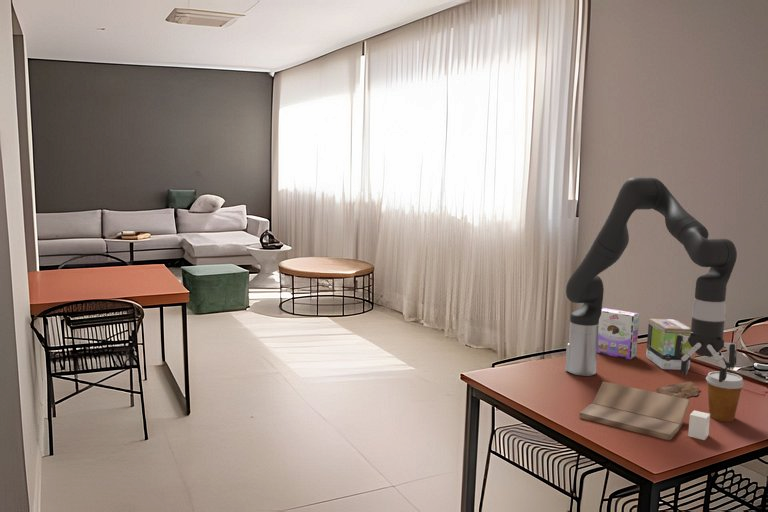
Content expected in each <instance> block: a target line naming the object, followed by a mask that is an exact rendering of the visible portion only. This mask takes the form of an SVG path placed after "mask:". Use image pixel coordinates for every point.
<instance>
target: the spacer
mask: <svg viewBox="0 0 768 512" xmlns="http://www.w3.org/2000/svg"><path fill="white" fill-rule="evenodd" d="M710 418H711V417H710V414H709V412H702V411H699V410H695V409H694V410H693V411H692V412H691V413H690V414H689V421H688V432H687V433H688V434H687V436H688V437H690V438H694V439H697V440H703V441H705V440H706V439H707V438H708V437H709V431H710V422H711V421H710V420H711V419H710Z"/></svg>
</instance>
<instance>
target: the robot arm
mask: <svg viewBox="0 0 768 512" xmlns="http://www.w3.org/2000/svg"><path fill="white" fill-rule="evenodd" d="M636 210H654V211H655V212H658V213H660V214H661V215H662V216H663V217H664V223H665V227H666V229H667V231H668V232H669V233H670V235H671V236H672V237H673V238H674V239H676V240H677V241H678V242H679V243H680V244H681V245H682V246H683V247H684V249H685V252H686V253H687V255H688V256H689V258H690V260H691V261H692V262H693V263H694V264H695V265H696V266H697V265H698V266H699V267H700V268H701V267H702V268H709V270H708V272H707V273H705V274H703V275H700V276H699V277H697V279H696V280H695V281H696V282H695V288H694V289H695V290H694V291H695V292H694V298H693V300H694V301H693V304H692V312H691V313H692V314H691V326H690V328H691V334H690V336H684V335H683V334H680V335H678V336H677V340H676V346H675V353H674V356H675V357H678V358H680V359H681V361H682V362H681V370H680V372H681V373H682V374H683V376H687V375H688V374H689V373H688V372H689V370H688V366H689V360H688V358H689V357H690V356H692V355H694V354H697V356H705V357H708V358H712V357H713V358H714V359H715V361H716V362H717V363H718V364H719V365H720V367H719V371H720V373H719V382H723V380H725V379H726V377H727V372H728V369H729V368H731V369H732V368H734V367H735V366H736V365H737V356H738V354H737V349H738V348H737V347H738V344H737V343H736V342H735V341H733V342H725V341H724V330H725V320H726V315H727V314H726V310H727V309H726V297H727V285H728V282H729V280H730V278H731V275H732V273H733V270H734V267H735V265H736V261H737V256H738V252H737V247H736V245H735V244H734V243H733V241H732V240H730V239H728V238H709V231H708V229H707V228H706V226H705V225H704V224H702V223H701V221H699V220H698V219H696V218H695V217H694V216H692V215H691V214H690V213H689V212H688V211H687V210H686V209H685V208H684V207H683V206H682V205H681V204H680V202H679V201H678V200H677V199H676V197H675V196H674V195H673V194H672V193H671V192H670V190H669V189H668V187H667V186H666V185H665V184H664V183H663V182H662V181H661V180H660V179H658V178H656V177H644V176H643V177H641V176H640V177H638V176H637V177H630V178H627V180H625V182H624V183H623V184H622V186H621V188H620V190H619V191H618V194H617V197H616V199H615V200H614V204H613V205H612V208H611V210H610V212H609V215H608V216H607V217H606V219H605V222H604V224H603V226H602V227H601V229H600V230H599V232H598V234H597V235H596V237H595V239H594V240H593V242H592V244H591V246H590V248H589V249H588V252H587V253H586V255H585V256H584V258H583V260H582V261H581V262H580V263H579V265H578V267H577V268H576V269H575V271H574V272H573V273H572V274H571V276H570V277H569V278H568V281H567V284H566V287H565V296H566V298H567V299H568V300H569V301H570V302H571V303H575V304H582V306H581V307H580V308H578V309H576V310H574V311H572V312H571V314H570V317H569V318H570V319H569V337H568V339H569V340H568V343H566V349H565V350H566V351H565V369H564V370H565V372H569V373H570V374H572V375H577V376H584V377H586V376H587V377H590V376H594V375H596V373H597V361H598V359H597V358H598V353H597V345H598V328H599V318H600V316H601V311H602V308H603V301H604V294H605V293H604V292H605V291H604V283H603V282H604V281H603V280H602V278H601V277H600V276H599V274H601V273H602V272H604V271H606V270H607V269H608V268H610V267H611V266H613V265H614V264H615V263H616V262H617V261H619V260H620V258H621V257H622V255H623V253H624V252H625V250H626V248H628V244H629V241H630V238H629V237H630V235H629V230H628V222H629V220H630V218H631V217H632V215H633V214H634V212H635V211H636ZM686 341H688V342H689V344H690V345H691V349H690V350H689V351H688V352H687V353H686V354H683V353H682V347H683V344H684V343H685V342H686ZM723 348H725V349H726V351H727V352H728V355H729V356H728V357H729V358H728V360H729V361H727V359H726V358H725V356H724V354H723V352H722V351H721V350H722V349H723ZM690 358H691V357H690Z"/></svg>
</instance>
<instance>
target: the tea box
mask: <svg viewBox="0 0 768 512" xmlns="http://www.w3.org/2000/svg"><path fill="white" fill-rule="evenodd" d="M680 334H683V335H684V336H690V334H691V326H688V325H686V324H685V323H683V322H680V321H679V320H677V319H672V318H670V319H669V318H648V328H647V340H646V353H645V357H646V359H649V361H651V362H652V363H654V364H655V365H656V366H658V367H659V368H660V369H662V370H673V371H674V370H677V371H678V370H680V371H681V362H682V361H681V359H680V358H678V357H675V356H674V353H675V346H676V340H677V336H678V335H680ZM691 348H692V347H691V345H690V344H689V342H688V341H686V342H685V343H684V344H683V347H682V353H683V354H686V353H687V352H688V351H689V350H690V349H691ZM691 356H692V355H691ZM691 356H690V357H689V358H688V360H689V366H688V371H689V370H690V365H691Z"/></svg>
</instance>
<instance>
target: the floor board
mask: <svg viewBox="0 0 768 512" xmlns="http://www.w3.org/2000/svg"><path fill="white" fill-rule="evenodd" d="M579 419H583V420H587V421H591V422H594V423H598V424H602V425H606V426H610V427H614V428H618V429H622V430H626V431H631V432H634V433H638V434H642V435H646V436H651V437H654V438H659V439H662V440H666V441H671V440H672V439H673V438H674V436H675V435H676V434H677V433H678V432H679V430H681V428H680V427H679V426H680V424H677V423H673V422H669V421H664V420H660V419H656V418H652V417H647V416H643V415H639V414H635V413H630V412H626V411H622V410H618V409H613V408H609V407H605V406H601V405H596V404H593V403H590V404H589V405H588V406H586V407H585V408H583V410H581V411H580V412H579Z"/></svg>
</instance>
